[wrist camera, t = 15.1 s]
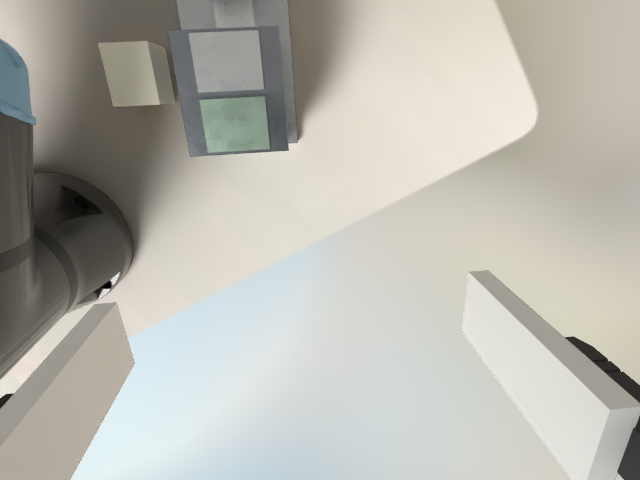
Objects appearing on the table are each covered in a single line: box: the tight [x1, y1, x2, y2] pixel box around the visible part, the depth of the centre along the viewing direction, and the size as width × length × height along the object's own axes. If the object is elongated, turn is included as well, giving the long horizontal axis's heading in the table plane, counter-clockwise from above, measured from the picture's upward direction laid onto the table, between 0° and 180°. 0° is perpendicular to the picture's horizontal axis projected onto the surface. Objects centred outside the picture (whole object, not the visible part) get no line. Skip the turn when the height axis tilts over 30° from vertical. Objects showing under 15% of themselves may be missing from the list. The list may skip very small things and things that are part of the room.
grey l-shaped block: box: [167, 0, 298, 157], centre depth 31 cm, size 10×21×10 cm, turn 3°
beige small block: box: [98, 41, 175, 107], centre depth 34 cm, size 4×5×5 cm
